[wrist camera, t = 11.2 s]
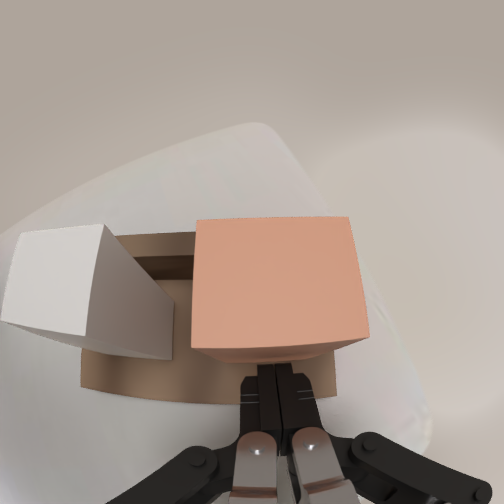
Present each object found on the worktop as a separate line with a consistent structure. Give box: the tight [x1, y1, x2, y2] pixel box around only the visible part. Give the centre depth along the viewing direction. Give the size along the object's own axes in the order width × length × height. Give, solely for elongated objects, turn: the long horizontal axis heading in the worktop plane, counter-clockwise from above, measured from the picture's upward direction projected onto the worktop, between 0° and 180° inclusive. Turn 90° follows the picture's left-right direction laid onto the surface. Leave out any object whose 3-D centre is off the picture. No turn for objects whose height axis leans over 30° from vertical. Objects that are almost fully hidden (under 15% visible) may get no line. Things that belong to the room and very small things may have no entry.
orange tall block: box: [191, 217, 370, 363], centre depth 12 cm, size 5×4×10 cm
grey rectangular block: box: [0, 224, 174, 360], centre depth 12 cm, size 5×4×10 cm
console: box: [81, 232, 337, 404], centre depth 16 cm, size 18×10×6 cm, turn 92°
